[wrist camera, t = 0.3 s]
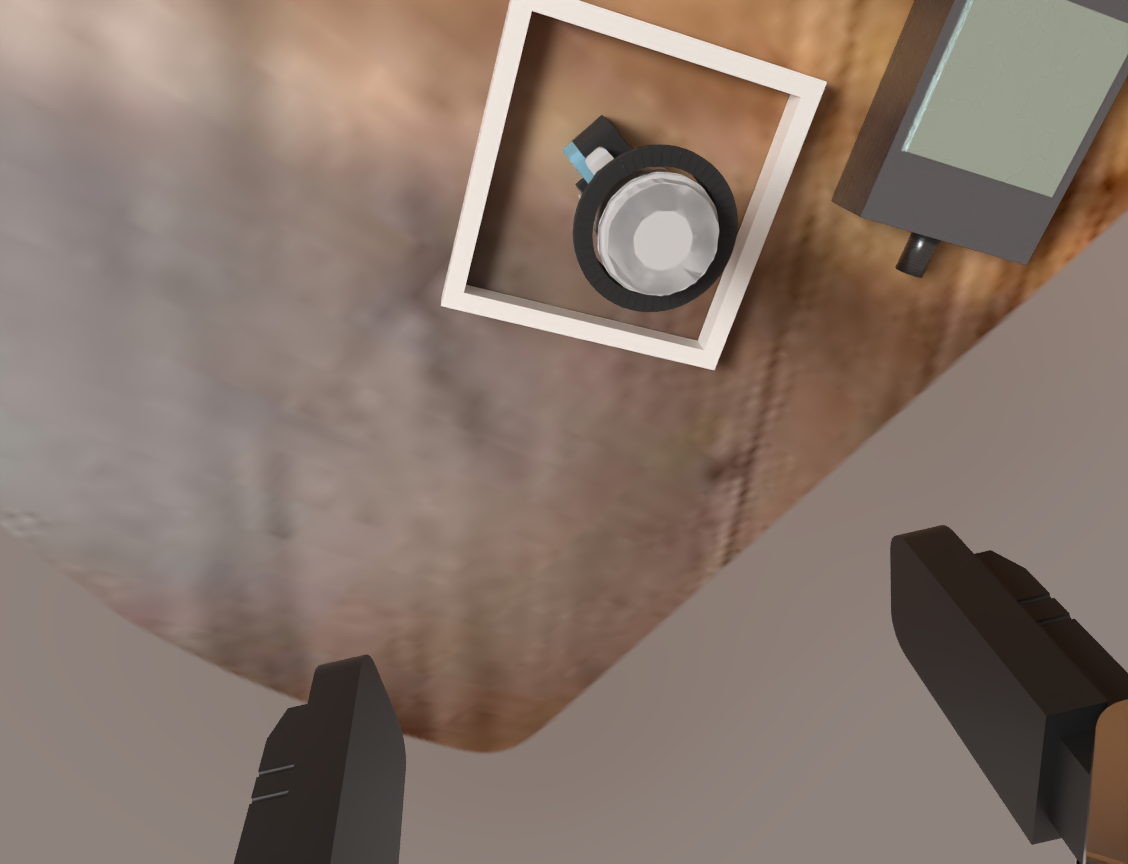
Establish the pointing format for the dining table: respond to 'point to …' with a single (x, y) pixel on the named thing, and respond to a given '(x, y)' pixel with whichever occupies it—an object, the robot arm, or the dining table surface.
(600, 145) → the push button
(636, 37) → the empty frame
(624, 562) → the dining table surface
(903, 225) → the power strip
